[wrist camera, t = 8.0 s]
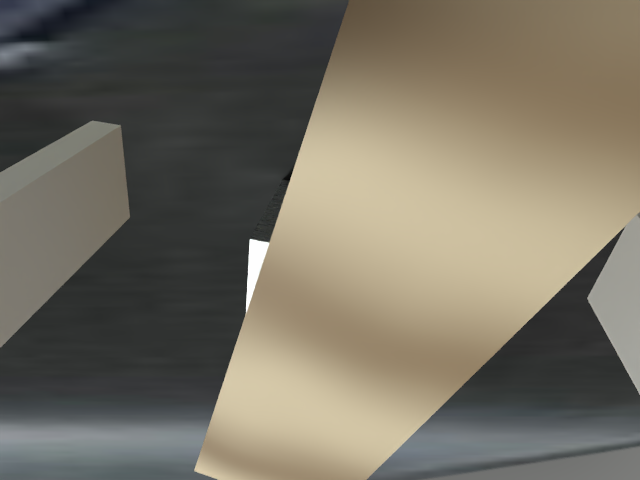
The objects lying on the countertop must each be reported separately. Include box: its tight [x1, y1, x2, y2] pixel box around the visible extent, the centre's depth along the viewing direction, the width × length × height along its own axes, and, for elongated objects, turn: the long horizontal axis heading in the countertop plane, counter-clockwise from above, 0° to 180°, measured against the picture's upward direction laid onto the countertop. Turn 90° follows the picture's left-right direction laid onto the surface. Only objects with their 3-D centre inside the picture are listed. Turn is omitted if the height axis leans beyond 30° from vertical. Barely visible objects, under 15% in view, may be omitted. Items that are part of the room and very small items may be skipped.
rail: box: [194, 0, 640, 480], centre depth 13 cm, size 20×5×8 cm, turn 161°
